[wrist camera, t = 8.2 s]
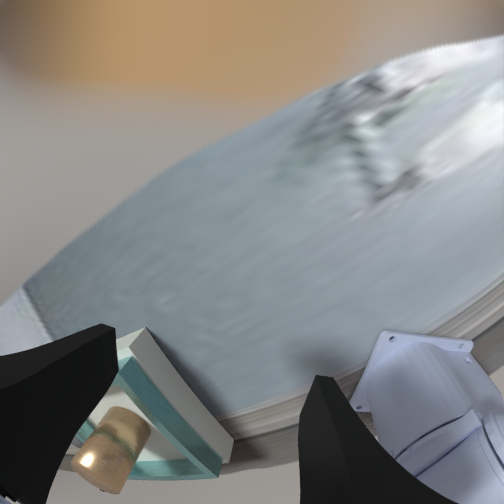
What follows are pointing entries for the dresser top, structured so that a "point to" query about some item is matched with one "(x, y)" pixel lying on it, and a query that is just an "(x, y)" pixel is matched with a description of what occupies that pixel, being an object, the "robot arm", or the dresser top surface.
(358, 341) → the dresser top surface
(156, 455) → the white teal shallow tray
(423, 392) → the robot arm
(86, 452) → the bronze metal cylinder
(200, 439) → the frame
